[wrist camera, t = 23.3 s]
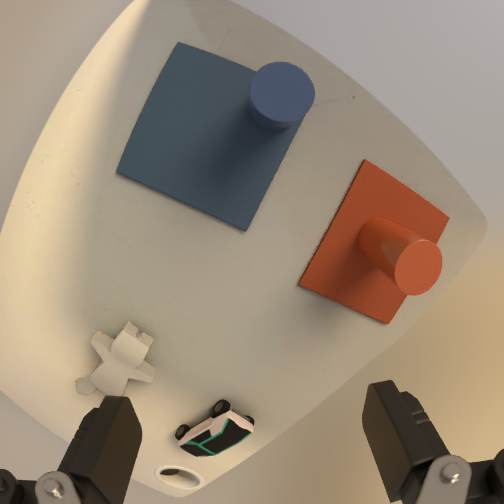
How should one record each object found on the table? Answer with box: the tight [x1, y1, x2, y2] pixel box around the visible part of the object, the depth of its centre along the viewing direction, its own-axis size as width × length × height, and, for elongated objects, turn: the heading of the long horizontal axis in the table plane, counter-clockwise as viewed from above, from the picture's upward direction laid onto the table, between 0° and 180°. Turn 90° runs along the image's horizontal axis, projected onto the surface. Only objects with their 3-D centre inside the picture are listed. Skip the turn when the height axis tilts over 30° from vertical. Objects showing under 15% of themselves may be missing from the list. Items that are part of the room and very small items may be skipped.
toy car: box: [175, 399, 254, 457], centre depth 40 cm, size 6×12×5 cm, turn 134°
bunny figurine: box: [76, 322, 156, 396], centre depth 37 cm, size 10×5×15 cm
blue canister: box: [249, 62, 315, 132], centre depth 26 cm, size 5×5×9 cm
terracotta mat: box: [298, 159, 449, 324], centre depth 35 cm, size 16×14×1 cm
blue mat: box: [116, 42, 306, 231], centre depth 31 cm, size 16×16×1 cm
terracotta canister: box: [358, 217, 442, 295], centre depth 30 cm, size 5×5×10 cm
